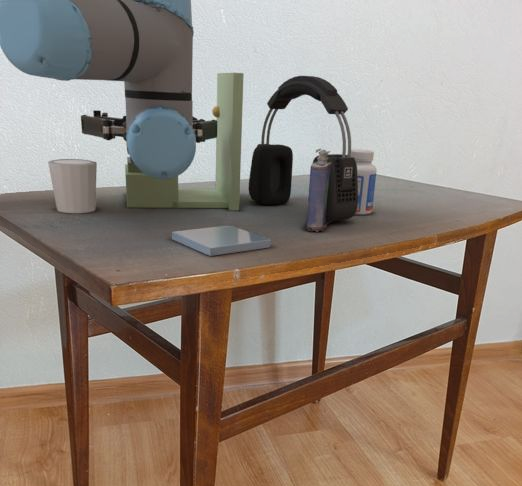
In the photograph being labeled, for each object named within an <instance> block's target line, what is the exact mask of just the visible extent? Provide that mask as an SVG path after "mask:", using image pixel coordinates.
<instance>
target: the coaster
mask: <svg viewBox="0 0 522 486" xmlns="http://www.w3.org/2000/svg"><path fill="white" fill-rule="evenodd" d="M171 240H172V241H175V242H176V243H180V244H181V245H184V246H186V247H188V248H191V249H193V250H195V251H198V252H200V253H202V254H204V255H206V256H208V257H213V256H220V255H221V256H222V255H227V254H234V253H235V254H236V253H240V252H248V251H255V250H262V249H263V250H264V249H270V248H271V242H272V241H271V238H267V237H264V236H261V235H258V234H255V233H254V232H250V231H247V230H244V229H242V228H239V227H236V226H233V225H230V224H229V225H221V226H220V225H219V226H213V227H212V226H210V227H204V228H203V227H201V228H194V229H185V230H176V231H172V232H171Z"/></svg>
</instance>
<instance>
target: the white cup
mask: <svg viewBox="0 0 522 486" xmlns="http://www.w3.org/2000/svg"><path fill="white" fill-rule="evenodd" d="M47 163H48V169H49V174H50V180H51V184H52V190H53V195H54V201H55V206H56V211H57V212H59V213H64V214H84V213H85V214H87V213H91V212H94V211H96V209H97V208H96V205H97V204H96V203H97V173H98V172H97V171H98V170H97V169H98V168H97V166H98V163H97V161H95V160H89V159H83V158H59V159H51V160H48V161H47Z"/></svg>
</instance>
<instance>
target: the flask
mask: <svg viewBox="0 0 522 486" xmlns="http://www.w3.org/2000/svg"><path fill="white" fill-rule="evenodd" d="M315 153H316V154H317V153H318V155H319V156H318V155H317V156H318V158H317V160H318V161H317V162H315V163H313V162H312V163H313V164H312V163H311V165H310V170H309V185H308V200H307V211H306V222H305V230H306V231H309V232H313V231H315V232H316V233H318V232H320V231H324V229H325V228H327V226H328V225H329V224H331V223H332V221H330V222H329V221H326V206H327V196H328V186H329V177H330V171H331V165H332V163H331V162H328V163H327V159H328V156H327V155H328V154H330V153H331V151H330V150H326V149H321V148H318V149H316V150H315Z"/></svg>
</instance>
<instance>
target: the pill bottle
mask: <svg viewBox="0 0 522 486" xmlns="http://www.w3.org/2000/svg"><path fill="white" fill-rule="evenodd" d="M374 154H375V152H374V150H371V149H358V148H357V149H356V148H355V149H353V148H351V157H354V159H355V161H356V164H357V176H358V208H357V211H356V213H355V215H356V216H357V215H358V216H361V215H370V214H371V213H372V212H373V206H374V199H375V189H376V182H377V181H376V179H377V167H376V166H375V165H374V164H373V161H374V156H375V155H374Z"/></svg>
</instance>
